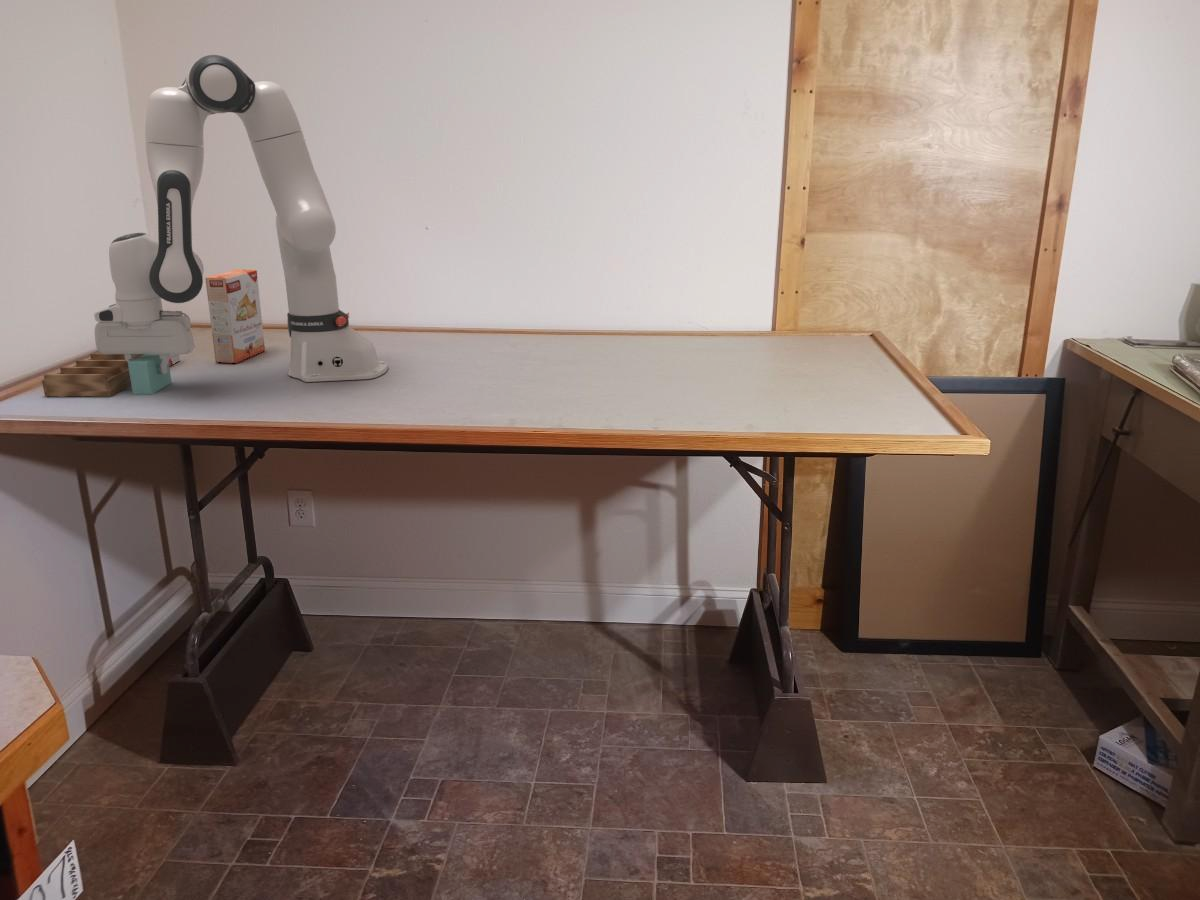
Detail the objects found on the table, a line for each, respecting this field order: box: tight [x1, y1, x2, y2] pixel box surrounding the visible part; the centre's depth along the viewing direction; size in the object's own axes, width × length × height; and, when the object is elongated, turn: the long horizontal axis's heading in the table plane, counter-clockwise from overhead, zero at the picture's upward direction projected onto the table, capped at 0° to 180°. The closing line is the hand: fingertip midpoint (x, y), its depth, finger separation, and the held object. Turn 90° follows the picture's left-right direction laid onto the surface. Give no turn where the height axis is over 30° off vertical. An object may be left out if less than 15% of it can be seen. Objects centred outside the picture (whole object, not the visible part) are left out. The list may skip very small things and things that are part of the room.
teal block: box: [128, 354, 172, 395], centre depth 213 cm, size 4×10×7 cm, turn 179°
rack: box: [41, 352, 144, 398], centre depth 216 cm, size 14×20×5 cm
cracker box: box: [204, 268, 266, 364], centre depth 238 cm, size 14×6×21 cm, turn 168°
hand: (150, 373), depth 213 cm, fingers closed on teal block, 4 cm apart
